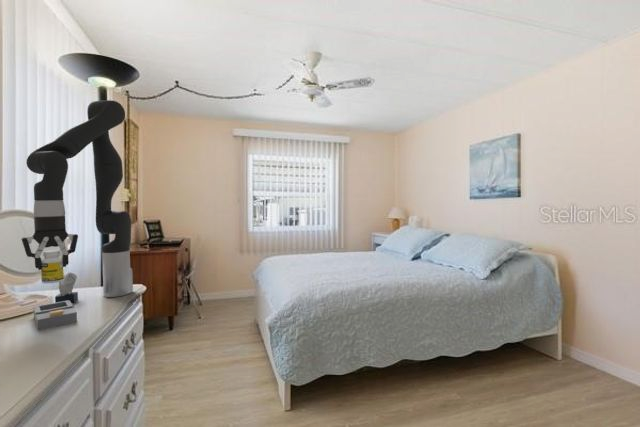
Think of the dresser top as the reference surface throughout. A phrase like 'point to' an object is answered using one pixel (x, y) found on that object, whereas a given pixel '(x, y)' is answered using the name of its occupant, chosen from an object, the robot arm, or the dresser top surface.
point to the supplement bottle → (52, 267)
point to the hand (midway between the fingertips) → (52, 267)
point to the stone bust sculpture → (67, 289)
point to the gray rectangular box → (54, 314)
